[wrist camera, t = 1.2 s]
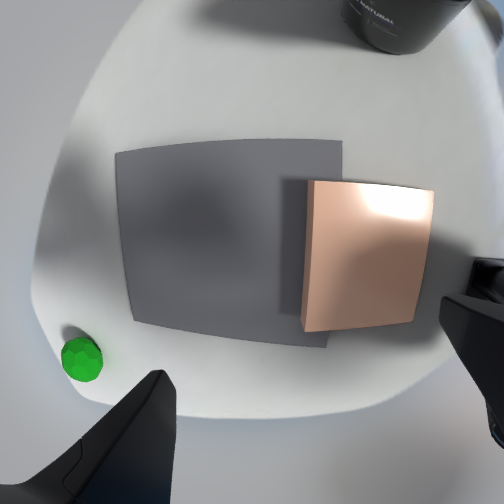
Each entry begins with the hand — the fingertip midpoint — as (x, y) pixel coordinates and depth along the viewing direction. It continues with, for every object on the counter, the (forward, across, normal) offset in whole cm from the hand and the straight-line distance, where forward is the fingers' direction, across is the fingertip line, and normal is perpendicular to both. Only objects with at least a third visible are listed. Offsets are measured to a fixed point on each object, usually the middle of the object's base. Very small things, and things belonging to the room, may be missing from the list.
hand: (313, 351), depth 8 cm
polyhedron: (+16, +22, +9) cm, 28 cm away
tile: (+9, -2, +1) cm, 9 cm away
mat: (+12, +4, 0) cm, 13 cm away
